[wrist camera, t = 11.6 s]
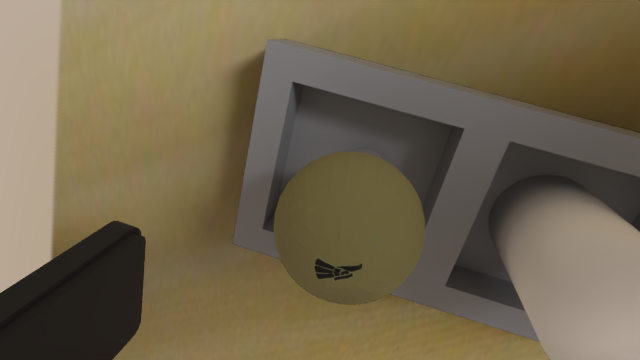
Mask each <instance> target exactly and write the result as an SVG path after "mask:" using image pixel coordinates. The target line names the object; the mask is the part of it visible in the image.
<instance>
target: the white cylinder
mask: <svg viewBox="0 0 640 360" xmlns="http://www.w3.org/2000/svg"><path fill="white" fill-rule="evenodd" d="M488 226H489V232H490V236H491V238H492V240H493V242H494V244H495V247H496V249H497V251H498V253H499V255H500V257H501V259H502V262H503V264H504V266H505V268H506V270H507V272H508V274H509V277H510V279H511V281H512V283H513V285H514V287H515V289H516V292H517V294H518V296H519V298H520V300H521V302H522V304H523V307H524V309H525V311H526V313H527V315H528V317H529V319H530V321H531V324H532V326H533V328H534V330H535V332H536V334H537V336H538V339H539V341H540V343H541V345H542V347H543V349H544V351H545V352H546V354H547V356H548V357H549V358H550V359H551V360H640V232H639V231H638V230H637V229H636V228H634V227H633V226H632V225H631V224H629V223H628V222H627V221H626V220H624V219H623V218H622V217H621V216H620V215H618V214H617V213H616V212H615V211H613V210H612V209H611V208H610V207H608V206H607V205H606V204H605V203H603V202H602V201H601V200H600V199H598V198H597V197H596V196H595V195H593V194H592V193H591V192H590V191H588V190H587V189H586V188H585V187H583V186H582V185H581V184H579V183H578V182H576V181H574V180H572V179H570V178H567V177H563V176H559V175H537V176H532V177H528V178H525V179H522V180H520V181H518V182H516V183H514V184H513V185H511V186H510V187H508V188H507V189H506V190H504V191H503V192H502V193H501V194H500V195H499V197H498V198H497V199H496V201H495V202H494V204H493V206H492V208H491V211H490V214H489V220H488Z"/></svg>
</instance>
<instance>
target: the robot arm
mask: <svg viewBox="0 0 640 360" xmlns="http://www.w3.org/2000/svg"><path fill="white" fill-rule="evenodd" d="M145 244H146V241H145V237H143V236H141V231H140V229H139V228H137V227H134V226H131V225H128V224H125V223H122V222H119V221H113V222H111V223H109V224H107V225H106V226H104V227H103V228H101V229H99V230H98V231H96V232H95V233H93V234H92V235H90V236H89V237H87V238H85V239H84V240H82V241H81V242H79V243H78V244H76V245H74V246H73V247H71V248H70V249H68V250H67V251H65V252H64V253H62V254H60V255H59V256H57V257H56V258H54V259H53V260H51V261H50V262H48V263H47V264H45V265H43V266H42V267H40V268H39V269H37V270H36V271H34V272H33V273H31V274H29V275H28V276H26V277H25V278H23V279H22V280H20V281H18V282H17V283H16V284H14V285H12V286H11V287H9V288H8V289H6V290H4V291H3V292H1V293H0V360H112V359H113V358H114V357H115V356H116V355H117V354H118V353H119V352H120V351H121V349H122V348H123V347H124V346H125V345H126V344H127V343H128V342H129V341H130V339H131V338H132V337H133V336H134V335H135V333H136V332H137V330H138V328H139V325H140V322H141V311H142V294H143V277H144V261H145Z"/></svg>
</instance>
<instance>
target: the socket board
mask: <svg viewBox="0 0 640 360" xmlns="http://www.w3.org/2000/svg"><path fill="white" fill-rule="evenodd" d="M357 149H369V150H372V151H374V152H376V153H378V154H379V155H380V156H381V157H382V159H383V160H385V161H387V162H388V163H390V164H392V165H393V166H394V167H396V168H397V169H398V170H399V171H400V172H401V173H402V174H403V175H404V176H405V177H406V178H407V179H408V180H409V182H410V183H411V184H412V186H413V187H414V189H415V191H416V192H417V195H418V197H419V199H420V201H421V204H422V208H423V213H424V217H425V240H424V245H423V249H422V253H421V256H420V258H419V260H418V262H417V264H416V266H415V268H414V270H413V271H412V272H411V274H410V275H409V276H408V278H407V279H406V280H405V281H404V282H403V284H401V285H400V286H399V287H398V288H396V289H395V290H394V291H393V292H391V293H389V294H391V295H394V296H397V297H400V298H404V299H407V300H410V301H413V302H416V303H419V304H422V305H426V306H429V307H432V308H435V309H438V310H441V311H444V312H448V313H451V314H454V315H457V316H460V317H463V318H466V319H470V320H473V321H476V322H479V323H482V324H485V325H488V326H492V327H495V328H498V329H501V330H504V331H507V332H510V333H514V334H517V335H520V336H523V337H526V338H529V339H532V340H536V341H539V339H538V336H537V334H536V332H535V330H534V328H533V326H532V324H531V321H530V319H529V317H528V315H527V313H526V311H525V309H524V307H523V304H522V302H521V300H520V298H519V296H518V294H517V292H516V289H515V287H514V285H513V283H512V281H511V279H510V277H509V274H508V272H507V270H506V268H505V266H504V264H503V262H502V259H501V257H500V255H499V253H498V251H497V249H496V247H495V244H494V242H493V240H492V238H491V236H490V232H489V226H488V220H489V214H490V211H491V208H492V206H493V204H494V202H495V201H496V199H497V198H498V197H499V195H500V194H501V193H502V192H503V191H504V190H506V189H507V188H508V187H510V186H511V185H513V184H514V183H516V182H518V181H520V180H522V179H525V178H528V177H532V176H537V175H559V176H563V177H567V178H570V179H572V180H574V181H576V182H578V183H579V184H581V185H582V186H583V187H585V188H586V189H587V190H588V191H590V192H591V193H592V194H593V195H595V196H596V197H597V198H598V199H600V200H601V201H602V202H603V203H605V204H606V205H607V206H608V207H610V208H611V209H612V210H613V211H615V212H616V213H617V214H618V215H620V216H621V217H622V218H623V219H624V220H626V221H627V222H628V223H629V224H631V225H632V226H633V227H634V228H636V229H637V230H638V231H639V232H640V133H638V132H634V131H631V130H627V129H623V128H619V127H615V126H612V125H608V124H604V123H600V122H597V121H593V120H589V119H585V118H581V117H578V116H574V115H570V114H566V113H563V112H559V111H555V110H551V109H547V108H544V107H540V106H536V105H532V104H529V103H525V102H521V101H517V100H513V99H510V98H506V97H502V96H498V95H495V94H491V93H487V92H483V91H479V90H476V89H472V88H468V87H464V86H461V85H457V84H453V83H449V82H446V81H442V80H438V79H434V78H430V77H427V76H423V75H419V74H415V73H412V72H408V71H404V70H400V69H396V68H393V67H389V66H385V65H381V64H378V63H374V62H370V61H366V60H362V59H359V58H355V57H351V56H347V55H344V54H340V53H336V52H332V51H328V50H325V49H321V48H317V47H313V46H310V45H306V44H302V43H298V42H294V41H291V40H287V39H267V45H266V50H265V56H264V62H263V68H262V74H261V79H260V85H259V91H258V97H257V103H256V109H255V114H254V120H253V126H252V132H251V138H250V143H249V149H248V155H247V161H246V167H245V172H244V178H243V184H242V190H241V196H240V202H239V207H238V213H237V219H236V225H235V231H234V236H233V242H232V244H234V245H237V246H240V247H243V248H247V249H250V250H253V251H256V252H259V253H262V254H265V255H269V256H272V257H275V258H278V259H280V257H279V254H278V251H277V248H276V244H275V236H274V218H275V211H276V208H277V205H278V201H279V198H280V196H281V194H282V192H283V191H284V189H285V187H286V185H287V184H288V182H289V181H290V180H291V179H292V178H293V177H294V176H295V175H296V174H297V172H298V171H299V170H300V169H302V168H303V167H304V166H306V165H307V164H309V163H310V162H311V161H314V160H316V159H318V158H320V157H323V156H325V155H328V154H333V153H337V152H348V151H354V150H357ZM539 342H540V341H539Z"/></svg>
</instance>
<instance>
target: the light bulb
mask: <svg viewBox="0 0 640 360" xmlns="http://www.w3.org/2000/svg"><path fill="white" fill-rule="evenodd" d="M274 236H275V244H276V248H277V251H278V254H279V257H280V259H281V261H282V263H283V264H284V266H285V268H286V270H287V271H288V273H289V274H290V276H291V277H292V278H293V279H294V280H295V282H296V283H297V284H299V285H300V286H301V287H302V288H303V289H305V290H306V291H307V292H309V293H311V294H312V295H314V296H316V297H318V298H320V299H323V300H326V301H328V302H333V303H337V304H346V305H356V304H364V303H368V302H371V301H375V300H377V299H379V298H381V297H383V296H385V295H387V294H389V293H391V292H393V291H394V290H395V289H396V288H398V287H399V286H400V285H401V284H403V282H404V281H405V280H406V279H407V278H408V276H409V275H410V274H411V272H412V271H413V270H414V268H415V266H416V264H417V262H418V260H419V258H420V256H421V253H422V249H423V245H424V240H425V217H424V213H423V208H422V204H421V201H420V199H419V197H418V195H417V192H416V191H415V189H414V187H413V186H412V184H411V183H410V182H409V180H408V179H407V178H406V177H405V176H404V175H403V174H402V173H401V172H400V171H399V170H398V169H397V168H396V167H394V166H393V165H392V164H390V163H388V162H387V161H385V160H383V159H382V157H381V156H380V155H379V154H378V153H376V152H374V151H372V150H369V149H357V150H354V151H348V152H337V153H333V154H328V155H325V156H323V157H320V158H318V159H316V160H314V161H311V162H310V163H309V164H307V165H306V166H304V167H303V168H302V169H300V170H299V171H298V172H297V174H296V175H295V176H294V177H293V178H292V179H291V180H290V181H289V182H288V184H287V185H286V187H285V189H284V191H283V192H282V194H281V196H280V198H279V201H278V205H277V208H276V211H275V218H274Z"/></svg>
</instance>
